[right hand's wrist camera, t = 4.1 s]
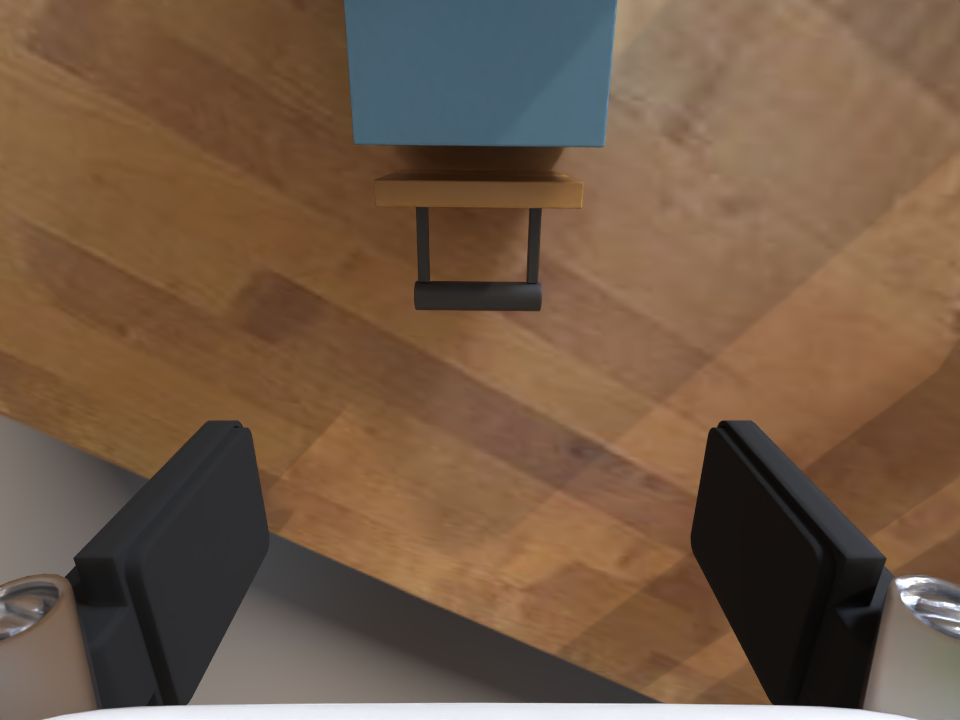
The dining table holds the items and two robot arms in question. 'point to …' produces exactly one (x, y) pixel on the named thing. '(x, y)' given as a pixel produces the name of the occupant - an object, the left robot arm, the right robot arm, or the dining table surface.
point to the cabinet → (480, 71)
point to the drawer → (480, 193)
